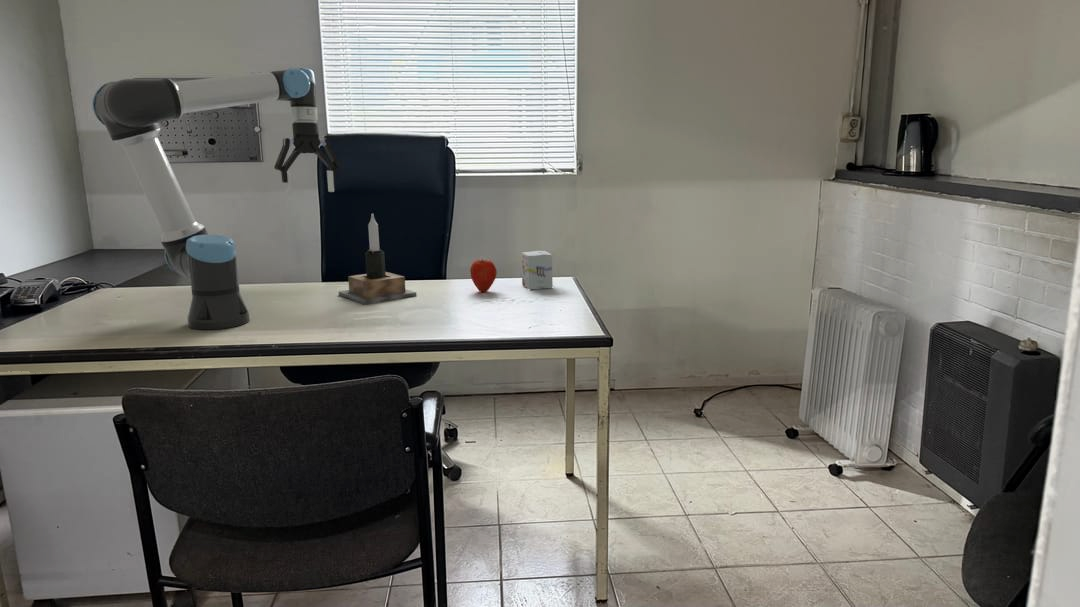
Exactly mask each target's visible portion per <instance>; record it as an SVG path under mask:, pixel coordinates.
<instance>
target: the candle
mask: <svg viewBox="0 0 1080 607" xmlns="http://www.w3.org/2000/svg"><path fill="white" fill-rule="evenodd" d="M370 215H371V217H370V220H369V223H368V224H367V228H368V240H369V249H367V251H366V252H365V254H364V255H365V271H366V273H365V274H367V278H368V279H379V278H386V276H385V272H386V263H385V262H386V261H385V260H386V259H385V251H383V250H382V249H380V237H379V236H380V235H379V224H378V223H377V221H376V218H375V215H374V213H371V214H370Z"/></svg>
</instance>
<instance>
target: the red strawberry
mask: <svg viewBox="0 0 1080 607" xmlns="http://www.w3.org/2000/svg"><path fill="white" fill-rule="evenodd" d="M469 272H470V278H471V280H472V283H473V285H474V286H475V287H476V289H477V290H478V291H479V292H480V291H481V292H480V293H486V292H485V291H487V292H488V291H489V290H490V289H491V288H492V285H493V284H494V282H495V281H496V278H497V274H498V270H497V268H496V266H495V264H494V262H493V261H491V260H488V259H487V260H486V259H483V258H482V259H477V260H474V261H473V262H472V264H471V265H470V271H469Z"/></svg>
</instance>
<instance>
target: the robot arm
mask: <svg viewBox="0 0 1080 607" xmlns="http://www.w3.org/2000/svg"><path fill="white" fill-rule="evenodd" d="M316 85H317V84H316V79H315V73H314V71H313V70H312V69H310V68H305V67H290V68H288V69H282V70H281V69H280V70H274V71H263V72H261V71H259V72H250V73H245V74H238V75H237V74H236V75H229V76H228V75H227V76H219V77H218V76H217V77H209V78H200V79H199V78H198V79H190V80H181V81H174V80H172V79H170V78H159V79H143V78H142V79H141V78H125V79H120V80H117V81H116V80H115V81H110V82H107V83H104V84H102V85H101V86H100V87H99V88H98V89H97V90H96V91H95V93H94V94H93V97H92V102H91V103H92V104H91V105H92V106H91V107H92V111H93V114H94V115H95V117H96V119H97V120H98V121H99V122H100V123H101V124H102V125H103V126H105V128H106V130H107V132H108V134H109V136H110V138H111V140H112V142H113V143H115V144H117V145H119V146H121V147H122V149H123V151H124V153H125V155H126V156H127V158H128V160H129V163H130V166H131V168H132V169H133V172H134V174H135V175H136V178H137V180H138V182H139V184H140V186H141V188H142V191H143V192H144V195H145V197H146V199H147V201H148V203H149V206H150V207H151V209H152V211H153V214H154V215H155V216H154V217H155V218H156V220H157V223H158V224H159V226H160V228H161V231H162V235H161V237H160V242H161V244H162V246H163V249H164V260H165V263H166V264H167V266H168V267H169V269H170V270H171V271H173V272H174V273H175V274H177V275H178V276H180V277H183V278H186V279H190V289H191V295H192V296H191V297H192V298H191V302H190V306H189V310H188V315H187V324H188V327H189V328H190V329H193V330H194V329H195V330H206V331H207V330H210V331H211V330H221V329H228V328H229V329H230V328H233V327H234V328H235V327H237V326H238V327H239V326H241V325H245V324H246V323H248V322H250V321H251V320H250V312H249V310H248V309H249V308H247V305H246V304H245V300H244V299H243V297H242V294H241V291H240V284H239V283H240V281H239V270H238V262H237V261H238V260H237V250H236V248H235V247H236V246H235V241H234V240H233V239H232V238H231V237H228V236H227V235H223V234H222V235H219V234H209V233H208V231H207V229H206V227H205V225H204V224H202V223H200V222H197V221H196V219H195V217H194V214H193V213H192V210H191V209H190V208H191V207H190V205H189V203H188V201H187V199H186V197H185V194H184V193H183V190H182V188H181V186H180V183H179V181H178V179H177V177H176V175H175V173H174V170H173V168H172V166H171V164H170V161H169V159H168V157H167V155H166V152H165V150H164V149H163V146H162V144H161V142H160V138H159V137H158V136H159V134H160V131H161V126H160V124H159V123H161V122H165V121H171V120H177V119H181V118H182V116H183V115H184V114H189V113H195V112H201V111H208V110H209V111H210V110H216V109H224V108H230V107H232V108H233V107H236V106H237V107H239V106H245V105H251V104H259V103H266V102H272V101H273V102H274V101H280V102H281V101H283V102H285V101H286V102H289V104H290V112H291V115H290V116H291V120H292V121H293V122H292V123H291V127H292V137H293V138H289V137H285V138H283V139H282V146H281V148H280V152H279V154H278V156H277V160H276V162H275V164H274V167H273V168H274V170H277V171H279V172H280V174H281V175H280V176H281V182H282V183H285V184H284V186H285V187H284V188H285V194H287V195H292V194H293V192H292V190H293V189H292V178H291V177H292V176H291V172H290V171H289V169H290V167H291V166H292V165H293V163H294V162H295V160H296V159H297V158H298V157H299V155H301V154H314V155H316V156H317V157H318V159H320V161H321V162H322V163H323V164H324V166H326V168H327V169H328V170H326V178H327V190H328V192H329V193H334V192H335V182H336V181H337V178H336V177H337V175H336V171H337V170H338V169H340V168H342V165H341V163H340V161H339V159H338V157H337V156H336V154H335V152H334V150H333V148H332V147H331V142H330V139H329V138H328V137H327V138H322V139H320V136H319V135H320V134H319V132H320V131H319V123H318V108H317V92H316ZM292 144H293V146H294V148H293V150H292V152H291V153H290V155H289V156H288V158H287V159H286V157H287V155H288V152H289V150H290V147H291V146H292ZM320 145H321V146H322V147H323V148H324V149H323V150H325V152H326V154H327V156H326V154H324V152H323V150H322V149H321V148H320ZM285 159H286V161H285Z"/></svg>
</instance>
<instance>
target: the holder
mask: <svg viewBox="0 0 1080 607" xmlns="http://www.w3.org/2000/svg"><path fill="white" fill-rule="evenodd" d="M385 276H386V278H379V279H368V278H367V274H366V273H363V274H354V275H349V276H347V277H348V278H347V279H348V280H347V281H348V289H347V290H346V289H345V290H340V291H338V296H339V297H342V296H343V298H345V297H346V299H348V298H349V299H348V300H350V301H354V302H356V303H359V302H360V304H362V303H363V305H370V303H371V304H377V303H382V302H381V301H383V302H388V301H387V300H389V301H394V300H393V299H395V300H399V299H398V298H401V299H405V298H404V297H407V298H411V297H410V296H413V297H417V296H418V295H417V292H416V291H413V290H410V289H407V288H406V277H405V276H404V275H400V274H396V273H392V272H388V271H385ZM416 295H417V296H416ZM376 302H377V303H376Z"/></svg>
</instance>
